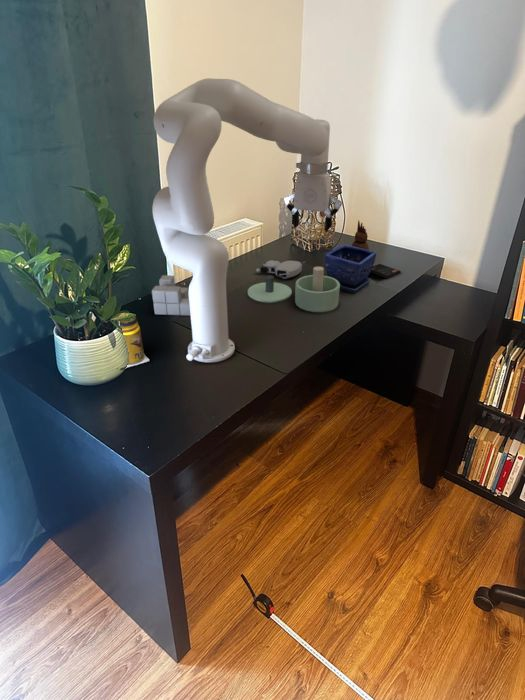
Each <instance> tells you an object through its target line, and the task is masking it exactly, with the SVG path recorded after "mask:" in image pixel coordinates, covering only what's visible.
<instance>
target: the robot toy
mask: <svg viewBox="0 0 525 700" xmlns="http://www.w3.org/2000/svg"><path fill="white" fill-rule="evenodd" d="M303 264H306V261H302V262H300V261H299V260H298V261H297V260H290V259H289V260H284V261H282V262H281V261H278V260H277V259H271V260H268V261H264V262H263V263H262V265H261V267H260V268H259V267H258V268H256V269H255V271H256V272H257V273H259V272H260V273H261V274H266V273H267V274H275V276H276V277H278V278H282V279H284V280H288V279H291V278H293V277H296V276H298V275H299V274H300V273H301V272H302V270H303Z"/></svg>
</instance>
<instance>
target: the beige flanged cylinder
mask: <svg viewBox="0 0 525 700" xmlns="http://www.w3.org/2000/svg"><path fill="white" fill-rule="evenodd" d="M324 274H325V268H324V267H323V266H314V267H313V268H312V275H313V286H312V291H314V292H322V291H323V276H325V275H324Z"/></svg>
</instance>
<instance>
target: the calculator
mask: <svg viewBox="0 0 525 700" xmlns="http://www.w3.org/2000/svg"><path fill="white" fill-rule="evenodd" d="M370 274H374V275H376V276H380V277H382V278H385V279H391V278H393V277H395V276H397V275H399V274H401V270H399V269H396V268H393V267H390V266H388V265H384V264H381V263H378V264H374V265H373V267H372V270H371V272H370Z"/></svg>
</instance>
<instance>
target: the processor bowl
mask: <svg viewBox="0 0 525 700" xmlns="http://www.w3.org/2000/svg"><path fill="white" fill-rule="evenodd" d="M312 286H313V274H309V275H303V276H301V277H299V278H298V279H296V281H295V290H294V291H295V292H294V296H295V297H294V304H295V305H296V306H297V307H298V308H299V309H301V310H304V311H306V312H307V311H308V312H313V313H324V312H329V311H333V310H335V309H336V308H337V307H338V306H339V303H340V302H339V301H340V291H341V289H340V283H339V282H338V280H336V279H334V278H332V277H329V276H328V275H323V291H322V292H314V291H312Z"/></svg>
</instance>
